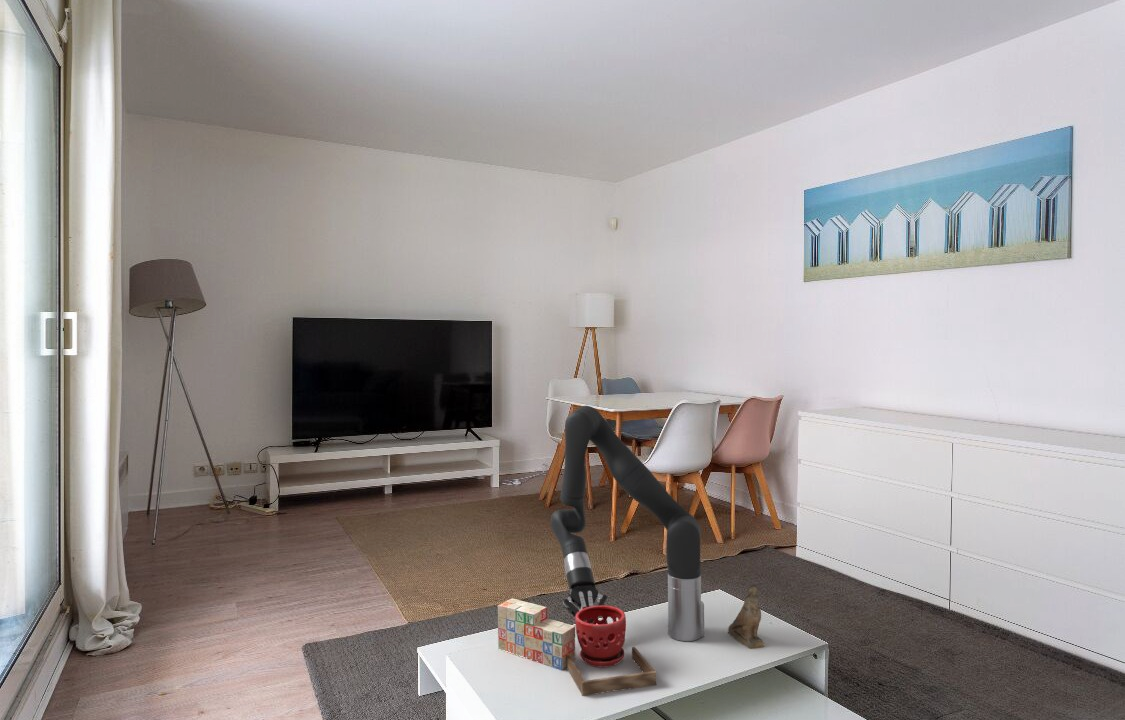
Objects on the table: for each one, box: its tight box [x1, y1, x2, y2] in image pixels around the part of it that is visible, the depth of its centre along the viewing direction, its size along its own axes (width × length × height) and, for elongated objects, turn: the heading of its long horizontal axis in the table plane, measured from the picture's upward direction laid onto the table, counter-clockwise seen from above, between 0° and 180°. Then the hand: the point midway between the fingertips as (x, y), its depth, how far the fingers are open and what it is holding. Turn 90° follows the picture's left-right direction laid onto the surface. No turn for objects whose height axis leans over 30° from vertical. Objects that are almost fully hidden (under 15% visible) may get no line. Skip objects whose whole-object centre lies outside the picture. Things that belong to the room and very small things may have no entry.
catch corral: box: [565, 646, 657, 697], centre depth 163 cm, size 19×14×3 cm
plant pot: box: [574, 605, 627, 668], centre depth 172 cm, size 13×13×12 cm
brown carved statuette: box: [727, 585, 765, 650], centre depth 182 cm, size 12×6×18 cm, turn 14°
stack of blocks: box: [497, 598, 576, 671], centre depth 175 cm, size 21×6×12 cm, turn 55°
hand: (591, 632), depth 178 cm, fingers closed
